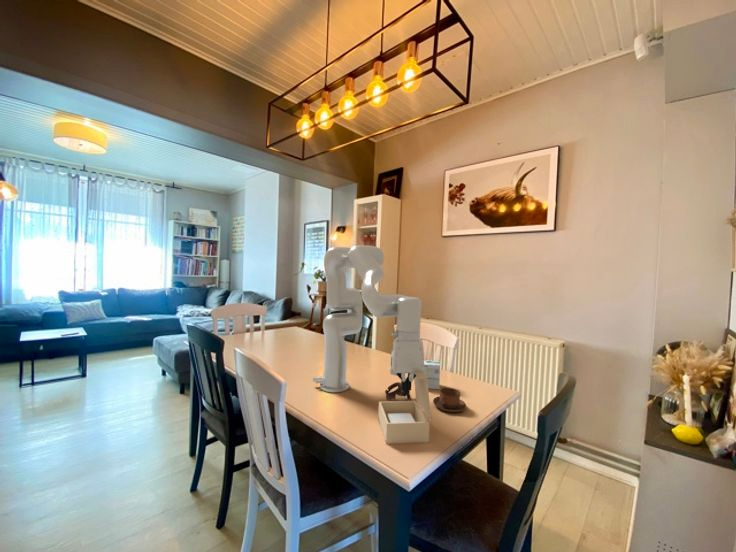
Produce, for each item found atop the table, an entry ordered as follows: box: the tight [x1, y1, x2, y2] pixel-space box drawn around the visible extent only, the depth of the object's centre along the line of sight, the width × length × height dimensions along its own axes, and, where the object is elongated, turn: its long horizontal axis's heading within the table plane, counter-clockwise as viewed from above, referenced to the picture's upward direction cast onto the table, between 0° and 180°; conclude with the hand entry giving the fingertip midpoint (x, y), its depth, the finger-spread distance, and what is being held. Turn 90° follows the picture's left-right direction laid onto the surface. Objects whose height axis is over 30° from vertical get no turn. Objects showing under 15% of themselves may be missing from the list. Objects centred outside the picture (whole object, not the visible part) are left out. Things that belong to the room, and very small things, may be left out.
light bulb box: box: [423, 359, 441, 390], centre depth 137 cm, size 11×7×11 cm, turn 84°
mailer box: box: [377, 400, 430, 445], centre depth 99 cm, size 13×15×6 cm
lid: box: [413, 372, 432, 422], centre depth 99 cm, size 14×15×3 cm
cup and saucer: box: [432, 387, 467, 413], centre depth 116 cm, size 12×12×6 cm
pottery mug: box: [384, 381, 413, 401], centre depth 121 cm, size 12×9×8 cm
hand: (405, 392), depth 99 cm, fingers closed
